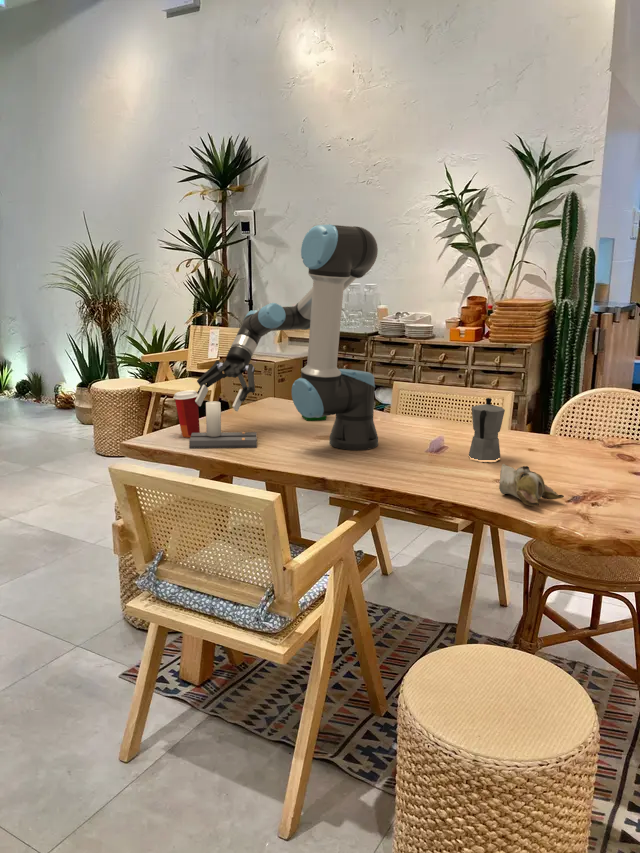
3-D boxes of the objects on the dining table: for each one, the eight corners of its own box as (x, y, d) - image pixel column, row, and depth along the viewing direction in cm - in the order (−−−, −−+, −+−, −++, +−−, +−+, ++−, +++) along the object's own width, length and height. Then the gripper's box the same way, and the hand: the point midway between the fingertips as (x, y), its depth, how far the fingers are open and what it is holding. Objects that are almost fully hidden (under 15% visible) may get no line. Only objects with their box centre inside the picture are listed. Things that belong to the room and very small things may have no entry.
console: (256, 439, 214) (256, 431, 213) (256, 447, 204) (256, 439, 203) (192, 440, 212) (191, 432, 211) (189, 448, 202) (189, 440, 201)
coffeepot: (472, 451, 204) (476, 392, 200) (504, 455, 200) (509, 395, 196) (461, 464, 190) (465, 401, 186) (495, 468, 187) (500, 404, 183)
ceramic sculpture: (517, 454, 169) (569, 472, 157) (513, 486, 171) (564, 507, 159) (488, 461, 163) (540, 480, 151) (484, 494, 165) (535, 516, 153)
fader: (221, 439, 210) (220, 401, 207) (220, 442, 205) (220, 404, 203) (207, 439, 209) (206, 401, 207) (206, 443, 205) (205, 404, 202)
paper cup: (205, 431, 220) (200, 389, 217) (199, 437, 213) (193, 394, 209) (182, 432, 221) (176, 390, 217) (175, 439, 214) (169, 395, 210)
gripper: (279, 362, 217) (255, 417, 207) (213, 356, 227) (187, 408, 217) (271, 348, 211) (246, 404, 201) (204, 342, 221) (177, 395, 212)
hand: (215, 406), depth 209 cm, fingers open, 13 cm apart
